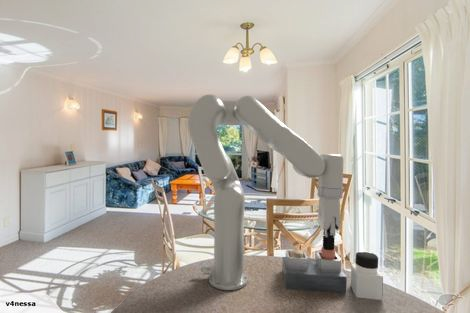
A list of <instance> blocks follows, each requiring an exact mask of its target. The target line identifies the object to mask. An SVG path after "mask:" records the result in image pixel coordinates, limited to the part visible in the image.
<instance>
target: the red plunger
mask: <svg viewBox="0 0 470 313" xmlns="http://www.w3.org/2000/svg"><path fill="white" fill-rule="evenodd" d="M320 252H321V258H322V259H335V253H336V248H334V250H325V249H324V248H323V246H321V250H320Z"/></svg>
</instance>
